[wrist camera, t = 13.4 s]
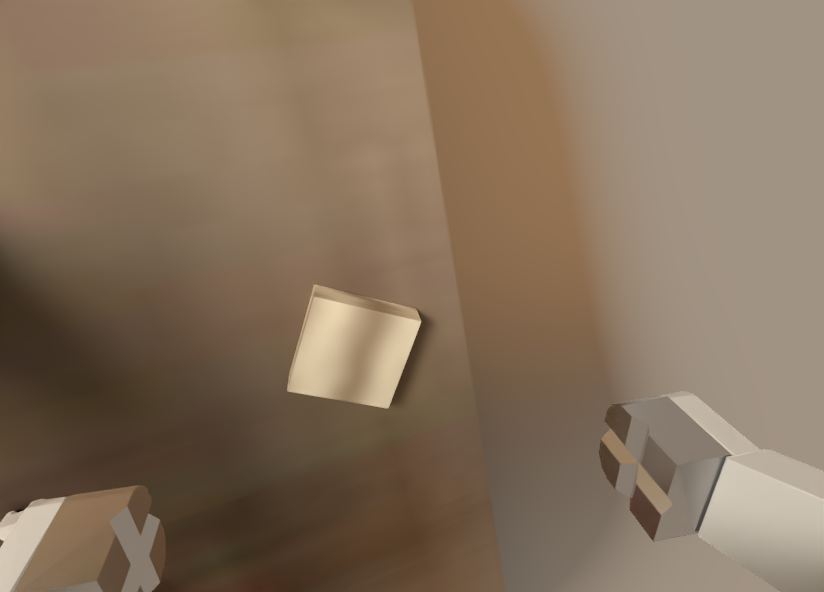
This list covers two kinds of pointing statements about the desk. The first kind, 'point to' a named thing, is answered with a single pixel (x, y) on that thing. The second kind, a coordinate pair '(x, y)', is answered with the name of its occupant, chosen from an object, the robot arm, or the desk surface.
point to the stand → (352, 347)
